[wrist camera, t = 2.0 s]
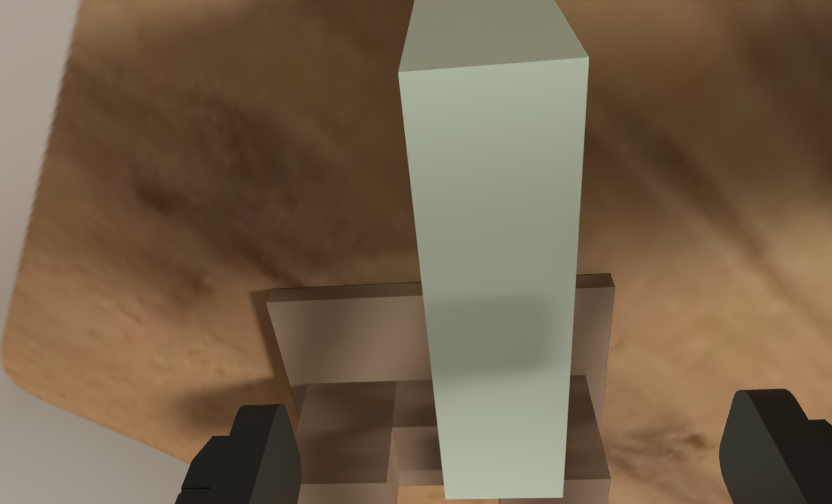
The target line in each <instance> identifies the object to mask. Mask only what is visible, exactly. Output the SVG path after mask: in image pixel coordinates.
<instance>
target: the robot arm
mask: <svg viewBox="0 0 832 504" xmlns="http://www.w3.org/2000/svg"><path fill="white" fill-rule="evenodd" d="M719 460H720V467H721V472H722V476H723V479H724V482H725V484H726V487H727V489H728V491H729V494H730V496H731V498H732V501H733V503H734V504H832V425H831V424H829V423H828V422H827V421H826V420H825V419H823V420H809V419H808V418H807V416H806V415H805V413H804V411H803V410H802V408H801V407H800V405H799V403H798V402H797V400H796V399H795V397H794V396H793V394H792V393H791V392H790V391H788V390H786V389H758V390H739V391H737V392H736V393H735V395H734V398H733V401H732V405H731V408H730V412H729V415H728V419H727V422H726V426H725V429H724V433H723V436H722V440H721V444H720V449H719ZM301 478H302V466H301V457H300V453H299V450H298V447H297V443H296V440H295V437H294V433H293V430H292V426H291V423H290V420H289V416H288V413H287V410H286V408H285V406H284V405H283V404H270V405H244V406H242V407H241V408H240V409H239V411H238V413H237V415H236V418H235V421H234V423H233V426H232V429H231V432H230V435H229V436H212V438H211V439H210V440H209V441H208V442H207V443H206V445H205V446H204V447H203V448H202V449H201V451H200V452H199V453H198V454H197V455H196V456H195V458H194V459H193V460H192V462H191V465H190V467H189V470H188V472H187V475H186V477H185V480H184V482H183V485H182V487H181V490H182V491H181V493H180V494H179V495H178V497H177V500H176V502H175V504H297V502H298V498H299V493H300V488H301Z"/></svg>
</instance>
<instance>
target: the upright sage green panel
mask: <svg viewBox="0 0 832 504" xmlns="http://www.w3.org/2000/svg"><path fill="white" fill-rule="evenodd" d="M588 68H589V56H588V55H587V53H586V51H585V50H584V48H583V46H582V45H581V43H580V41H579V40H578V38H577V36H576V35H575V33H574V31H573V30H572V28H571V26H570V25H569V23H568V22H567V20H566V18H565V17H564V15H563V13H562V12H561V10H560V8H559V7H558V5H557V3H556V2H555V0H415V1H414V5H413V10H412V14H411V18H410V23H409V27H408V31H407V36H406V40H405V44H404V49H403V53H402V57H401V62H400V66H399V70H398V76H399V85H400V94H401V103H402V112H403V121H404V130H405V139H406V148H407V157H408V166H409V175H410V183H411V192H412V201H413V210H414V219H415V228H416V237H417V246H418V255H419V264H420V273H421V282H422V291H423V300H424V309H425V318H426V327H427V336H428V345H429V354H430V363H431V372H432V381H433V390H434V399H435V408H436V417H437V426H438V435H439V444H440V453H441V462H442V471H443V480H444V489H445V498H446V499H498V498H563V486H564V470H565V453H566V436H567V419H568V403H569V386H570V369H571V352H572V336H573V319H574V302H575V286H576V269H577V252H578V235H579V219H580V202H581V185H582V168H583V152H584V135H585V118H586V102H587V85H588Z"/></svg>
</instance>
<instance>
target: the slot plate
mask: <svg viewBox="0 0 832 504" xmlns="http://www.w3.org/2000/svg"><path fill="white" fill-rule="evenodd" d="M614 292H615V285H614V283H613V280H612V277H611V274H594V275H576V286H575V302H574V319H573V336H572V352H571V369H570V386H569V403H568V419H567V436H566V453H565V470H564V486H563V498H499V504H608V498H609V490H610V482H611V478H610V474H609V470H608V466H607V462H606V457H605V453H604V449H603V445H602V441H601V437H600V427H601V417H602V408H603V398H604V388H605V379H606V369H607V360H608V350H609V340H610V331H611V321H612V312H613V302H614ZM266 304H267V308H268V311H269V315H270V318H271V322H272V325H273V329H274V332H275V335H276V339H277V342H278V346H279V349H280V353H281V356H282V359H283V363H284V366H285V370H286V373H287V377H288V380H289V384H290V387H291V390H292V394H293V397H294V401H295V404H296V408H297V411H298V415H299V422H298V426H297V430H296V433H295V440H296V443H297V447H298V450H299V453H300V457H301V466H302V478H301V488H300V493H299V498H298V502H297V504H397V496H398V486H418V485H444V480H443V471H442V462H441V453H440V444H439V435H438V426H437V417H436V408H435V399H434V390H433V381H432V372H431V363H430V354H429V345H428V336H427V327H426V318H425V309H424V300H423V291H422V282H421V283H400V284H378V285H357V286H335V287H314V288H292V289H271V291H270V293H269V296H268V298H267V301H266Z"/></svg>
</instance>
